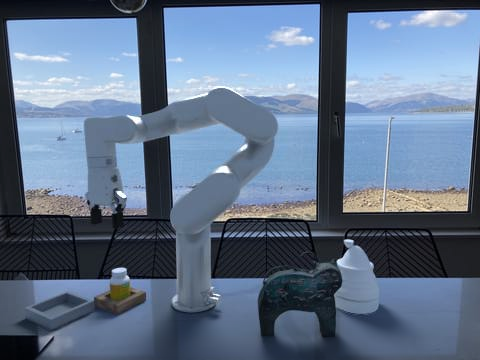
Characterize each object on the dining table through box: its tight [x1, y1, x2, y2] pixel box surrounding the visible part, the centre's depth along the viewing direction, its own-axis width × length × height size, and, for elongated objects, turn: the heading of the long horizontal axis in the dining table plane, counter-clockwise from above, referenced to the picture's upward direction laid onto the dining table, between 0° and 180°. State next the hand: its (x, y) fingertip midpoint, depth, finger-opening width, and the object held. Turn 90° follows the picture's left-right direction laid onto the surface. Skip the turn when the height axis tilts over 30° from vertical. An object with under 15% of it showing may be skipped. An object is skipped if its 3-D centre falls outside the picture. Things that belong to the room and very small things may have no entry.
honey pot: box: [334, 239, 380, 315], centre depth 99 cm, size 13×13×18 cm
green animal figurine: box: [257, 251, 343, 338], centre depth 84 cm, size 20×6×20 cm, turn 90°
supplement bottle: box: [109, 267, 131, 301], centre depth 101 cm, size 5×5×10 cm
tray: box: [24, 290, 96, 332], centre depth 94 cm, size 12×12×3 cm
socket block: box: [93, 286, 147, 315], centre depth 101 cm, size 10×10×2 cm
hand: (107, 225), depth 98 cm, fingers open, 9 cm apart
